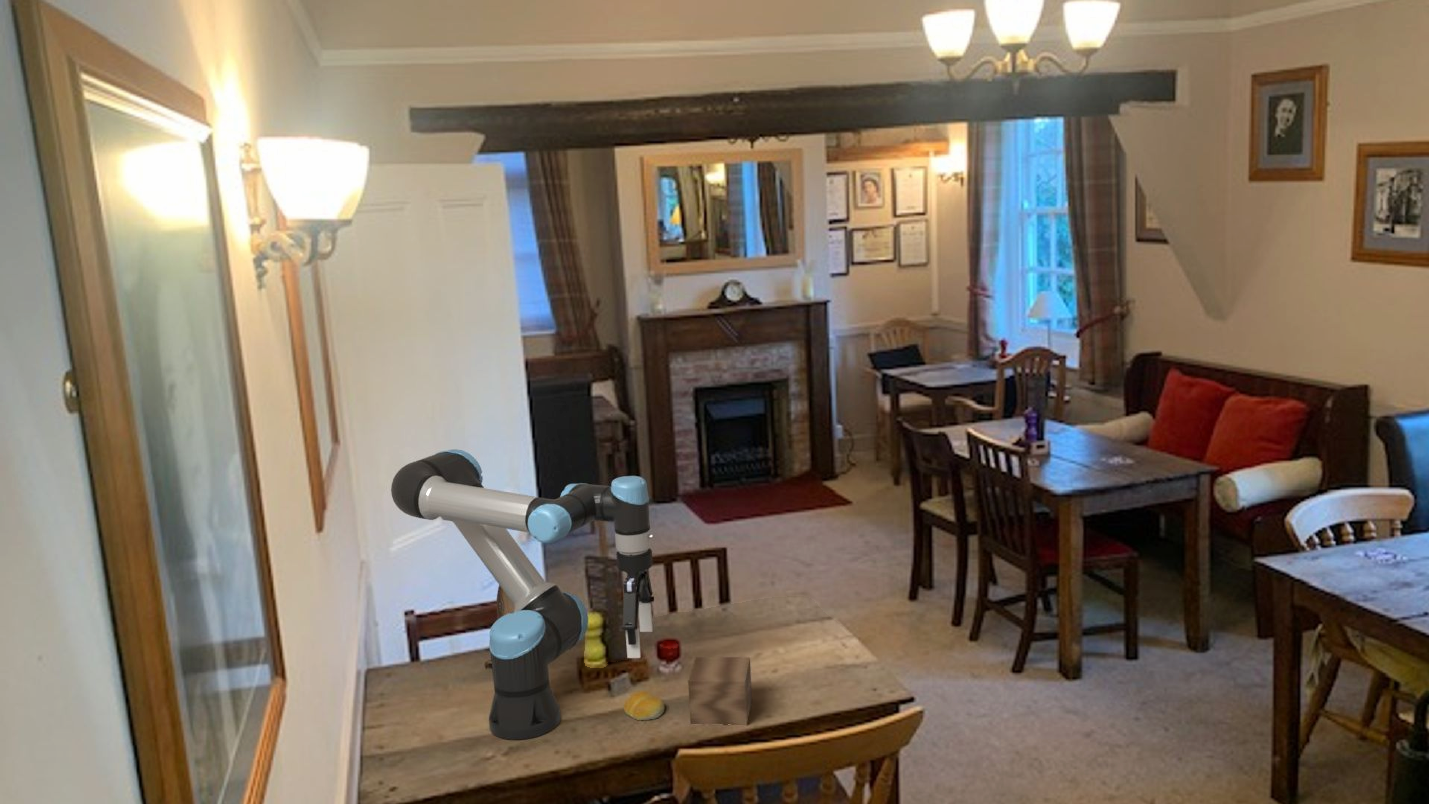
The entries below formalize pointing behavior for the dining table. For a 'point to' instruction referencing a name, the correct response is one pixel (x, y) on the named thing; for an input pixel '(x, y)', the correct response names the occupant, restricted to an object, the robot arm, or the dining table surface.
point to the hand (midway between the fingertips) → (640, 644)
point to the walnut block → (720, 690)
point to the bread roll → (644, 706)
